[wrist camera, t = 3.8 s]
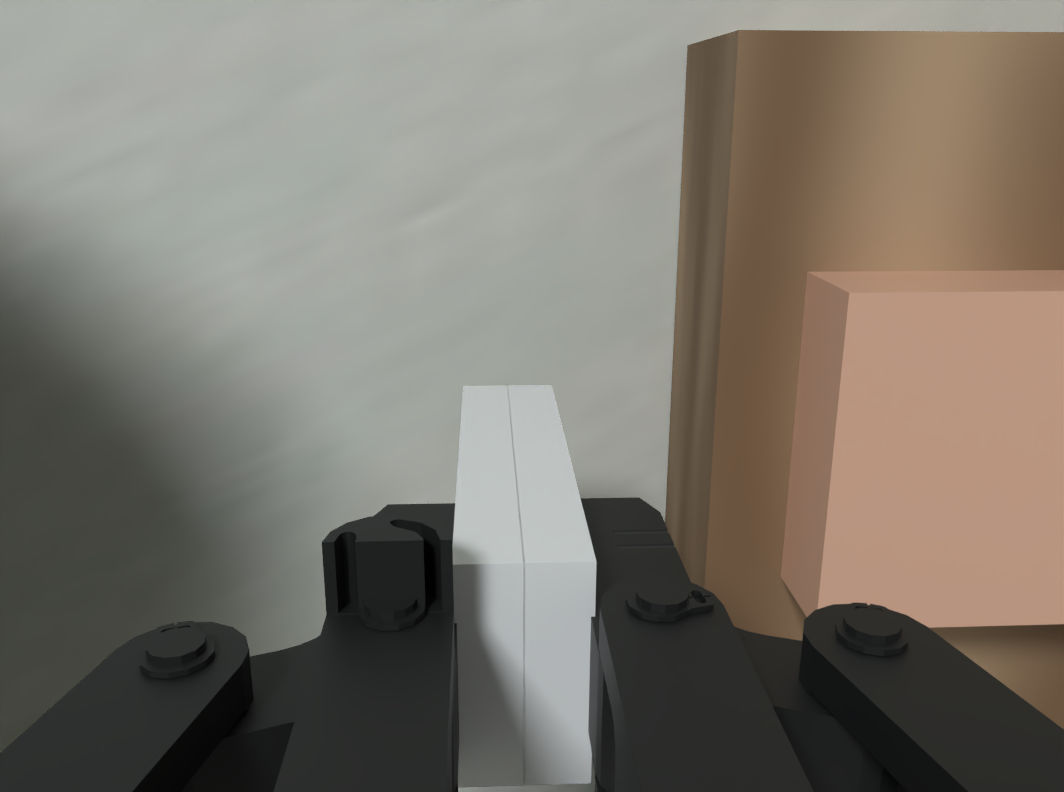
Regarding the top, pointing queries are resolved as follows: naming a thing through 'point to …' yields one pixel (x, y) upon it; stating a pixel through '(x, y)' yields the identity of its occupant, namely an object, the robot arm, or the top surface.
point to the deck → (839, 263)
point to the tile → (930, 446)
